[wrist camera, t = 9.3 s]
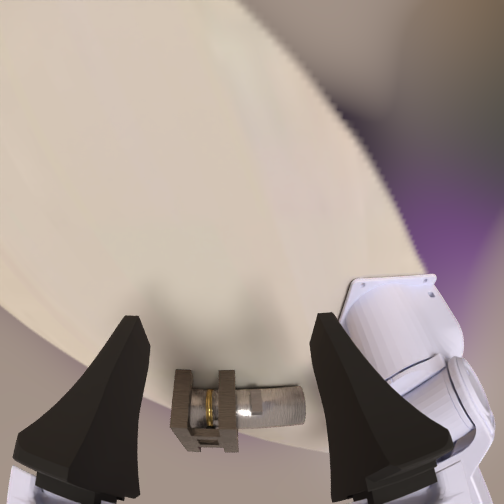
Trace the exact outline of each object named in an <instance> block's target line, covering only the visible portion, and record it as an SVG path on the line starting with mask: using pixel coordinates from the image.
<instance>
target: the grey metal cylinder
mask: <svg viewBox="0 0 504 504" xmlns="http://www.w3.org/2000/svg"><path fill="white" fill-rule="evenodd" d="M218 394H219V390H213V389H207V390H199V389H192V398H191V415H190V426H191V428H199V429H218ZM235 395H236V426H237V429H248V428H268V427H281V426H292V425H301V424H304V422H305V415H306V406H305V397H304V392H303V389H302V387H301V386H293V387H281V388H265V389H239V390H235Z"/></svg>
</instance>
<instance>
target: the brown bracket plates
mask: <svg viewBox="0 0 504 504" xmlns="http://www.w3.org/2000/svg"><path fill="white" fill-rule="evenodd" d="M192 383H193V375H192V372H191V370H176V371H175V380H174V389H173V399H172V410H171V421H170V428H171V429H172V431H173V432H174V434H175V435H176V436H177V438H178V439H179V440H180V442H181V443H182V445H183V446H184V447H185V449H186V450H187V451H192V452H201V447H217V448H219V447H220V448H222V447H223V448H224V451H225V452H238V451H239V450H238V429H237V426H236V395H235V370H219V394H218V429H199V428H191V426H190V415H191V398H192Z"/></svg>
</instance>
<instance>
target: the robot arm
mask: <svg viewBox="0 0 504 504" xmlns="http://www.w3.org/2000/svg"><path fill="white" fill-rule="evenodd" d="M435 281H436V276H435V275H434V274H426V275H412V276H397V277H381V278H363V279H355V280H353V281H352V282H351V285H350V288H349V291H348V294H347V298H346V301H345V304H344V307H343V310H342V313H341V316H340V319H339V321H338V319H337V318H336V317H335V315H334V314H333V313H332V312H330V313H318V314H317V318H316V322H315V326H314V329H313V333H312V337H311V340H310V351H311V358H312V365H313V369H314V373H315V377H316V381H317V385H318V389H319V392H320V396H321V400H322V404H323V408H324V413H325V418H326V425H327V433H328V442H329V453H330V469H331V499H332V502H338V501H342V500H346V499H350V498H353V500H354V502H352V503H348V504H493V502H492V499H491V496H490V494H489V491H488V488H487V486H486V483H485V481H484V478H483V476H482V474H481V471H480V469H479V466H478V465H479V464H480V462H481V460H482V459H483V457H484V456H485V454H486V452H487V451H488V449H489V448H490V446H491V443H492V442H493V440H494V434H495V420H494V416H493V413H492V411H491V409H490V406H489V403H488V400H487V397H486V394H485V392H484V389H483V387H482V385H481V383H480V381H479V379H478V377H477V375H476V374H475V372H474V370H473V369H472V367H471V366H470V364H469V363H468V362H467V361H466V360H465V359H464V358H462V355H463V350H464V340H463V334H462V330H461V327H460V325H459V323H458V322H457V320H456V319H455V317H454V315H453V313H452V312H451V310H450V309H449V307H448V305H447V304H446V302H445V301H444V299H443V298H442V296H441V294H440V293H439V291H438V290H437V288H436V287H435V285H434V283H435ZM361 284H362V285H361ZM351 339H352V340H351ZM149 356H150V344H149V341H148V339H147V336H146V334H145V331H144V328H143V326H142V323H141V321H140V318H139V316H126V315H125V316H124V318H123V319H122V320H121V322H120V323H119V325H118V326H117V328H116V329H115V331H114V332H113V334H112V335H111V337H110V338H109V340H108V341H107V343H106V344H105V345H104V347H103V348H102V350H101V351H100V352H99V354H98V355H97V357H96V358H95V359H94V361H93V362H92V363H91V365H90V366H89V367H88V369H87V370H86V371H85V373H84V374H83V375H82V376H81V378H80V379H79V380H78V381H77V382H76V383H75V384H74V386H73V387H72V388H71V389H70V390H69V391H68V392H67V393H66V394H65V395H64V396H63V397H62V398H61V399H60V401H58V402H57V403H56V404H55V405H54V406H53V407H52V408H51V409H50V410H49V411H47V412H46V413H45V414H44V415H43V416H42V417H40V418H39V419H38V420H37V421H35V422H34V423H33V424H31V425H30V426H28V427H27V428H25V429H24V430H23V431H21V432H20V433H19V434H18V437H17V440H16V445H15V449H14V454H13V459H14V460H15V461H17V462H19V463H21V464H23V465H25V466H27V467H29V468H31V469H33V470H35V471H37V476H35V475H32V474H30V473H28V472H26V471H24V470H22V469H20V468H18V467H16V466H14V465H13V466H12V470H11V475H10V481H9V489H8V496H7V504H116V502H117V500H122V501H124V497H129V498H136V497H138V496H139V495H140V489H139V478H138V461H137V438H138V420H139V412H140V407H141V401H142V397H143V392H144V387H145V382H146V377H147V372H148V366H149Z"/></svg>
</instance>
